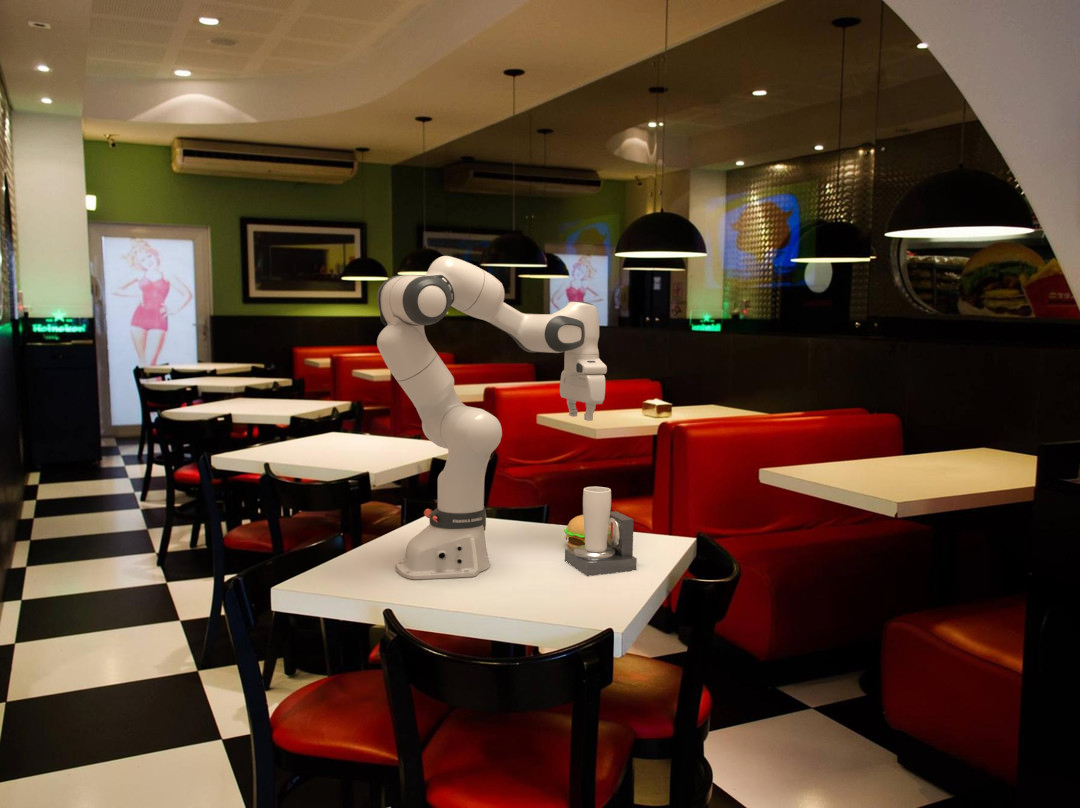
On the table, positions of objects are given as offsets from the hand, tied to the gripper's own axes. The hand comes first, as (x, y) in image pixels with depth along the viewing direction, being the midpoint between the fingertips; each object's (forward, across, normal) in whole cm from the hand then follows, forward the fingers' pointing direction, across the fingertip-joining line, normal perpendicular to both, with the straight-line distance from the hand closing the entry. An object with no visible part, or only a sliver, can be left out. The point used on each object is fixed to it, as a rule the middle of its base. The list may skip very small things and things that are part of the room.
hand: (580, 418), depth 219 cm
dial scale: (+34, +17, -2) cm, 38 cm away
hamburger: (+34, +1, +2) cm, 34 cm away
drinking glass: (+30, +17, -3) cm, 35 cm away
